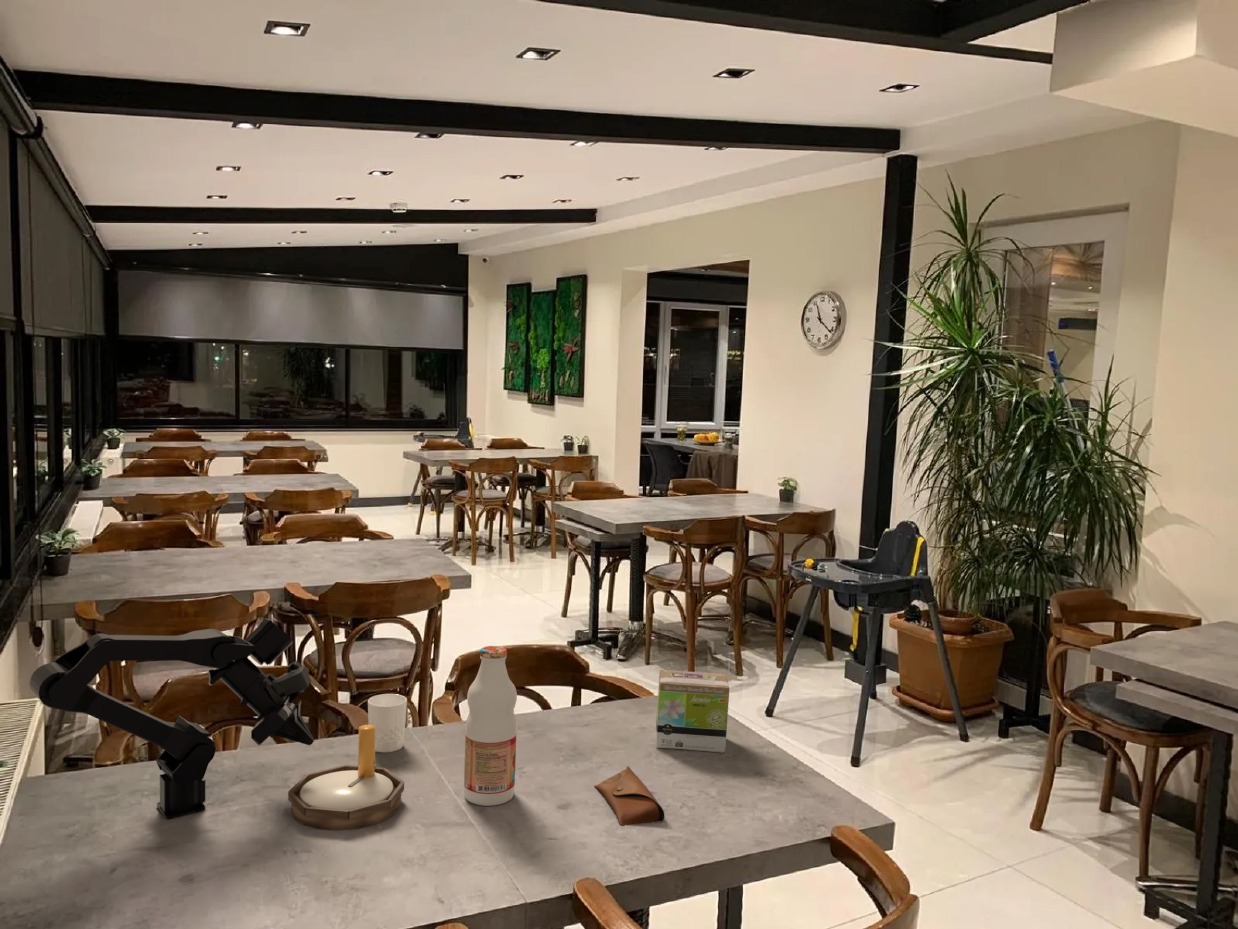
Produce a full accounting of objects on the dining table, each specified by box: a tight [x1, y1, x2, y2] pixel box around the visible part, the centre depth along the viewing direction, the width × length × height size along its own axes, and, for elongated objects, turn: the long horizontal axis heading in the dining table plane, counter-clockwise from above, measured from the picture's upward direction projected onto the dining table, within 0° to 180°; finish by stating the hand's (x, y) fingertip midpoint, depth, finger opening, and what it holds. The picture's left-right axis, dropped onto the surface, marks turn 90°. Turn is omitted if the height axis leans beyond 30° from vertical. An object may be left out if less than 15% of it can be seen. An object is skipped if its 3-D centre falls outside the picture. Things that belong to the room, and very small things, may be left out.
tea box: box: [655, 669, 730, 754], centre depth 208 cm, size 15×10×15 cm
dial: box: [300, 724, 393, 810], centre depth 171 cm, size 16×16×10 cm
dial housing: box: [287, 764, 405, 831], centre depth 172 cm, size 19×19×4 cm
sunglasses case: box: [593, 765, 665, 827], centre depth 178 cm, size 18×7×7 cm
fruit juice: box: [463, 645, 518, 807], centre depth 177 cm, size 9×9×28 cm
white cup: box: [367, 693, 408, 753], centre depth 199 cm, size 8×8×10 cm
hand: (312, 743), depth 176 cm, fingers closed
